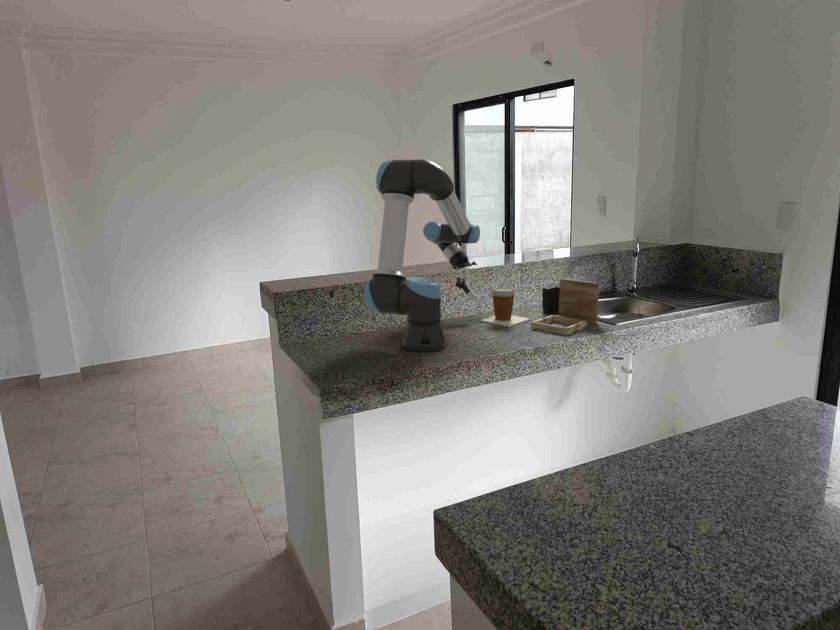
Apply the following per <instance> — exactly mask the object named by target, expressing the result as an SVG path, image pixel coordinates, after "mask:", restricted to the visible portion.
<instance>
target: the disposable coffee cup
mask: <svg viewBox="0 0 840 630" xmlns="http://www.w3.org/2000/svg"><path fill="white" fill-rule="evenodd" d="M491 293H492V294H491ZM491 293H490V294H491V296H492V302H493V311H494V312H493V313H494V316H495V319H496V320H501V321H506V320H510V319H511V315H512V316H513V307H514V301H515V300H514V299H515V295H516V293H517V292H516V291H515V288H512V287H507V286H506V287H504V286H503V287H502V286H501V287H494V289H493V290H492V292H491Z"/></svg>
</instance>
